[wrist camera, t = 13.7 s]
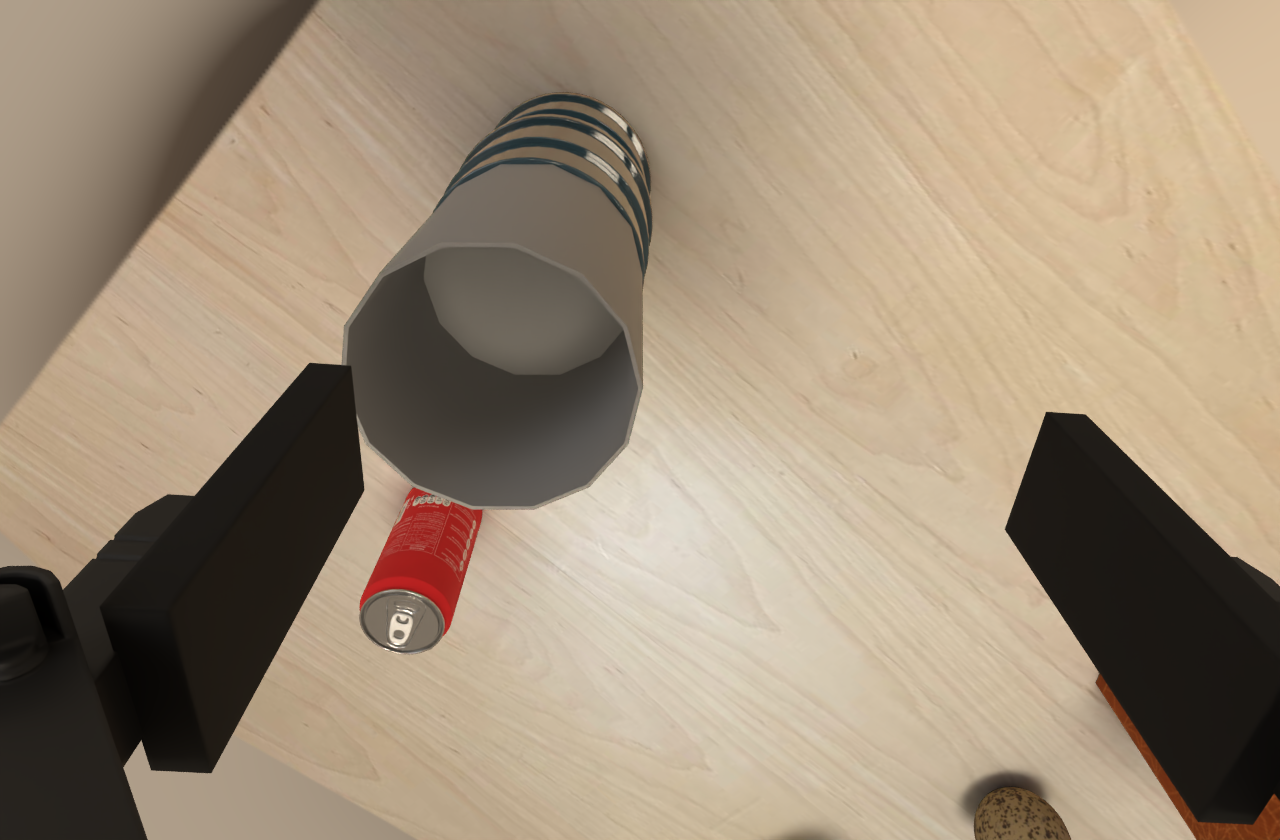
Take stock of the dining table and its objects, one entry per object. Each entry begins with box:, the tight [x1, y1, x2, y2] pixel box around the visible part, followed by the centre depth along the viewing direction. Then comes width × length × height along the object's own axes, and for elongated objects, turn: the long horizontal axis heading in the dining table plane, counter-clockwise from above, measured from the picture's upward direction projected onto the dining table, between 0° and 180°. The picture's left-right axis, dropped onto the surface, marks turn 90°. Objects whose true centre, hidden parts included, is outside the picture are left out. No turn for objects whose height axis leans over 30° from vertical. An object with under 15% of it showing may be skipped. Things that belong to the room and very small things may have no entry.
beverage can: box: [359, 487, 482, 654], centre depth 51 cm, size 5×5×12 cm
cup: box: [342, 164, 643, 510], centre depth 27 cm, size 8×8×10 cm
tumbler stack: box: [432, 92, 652, 291], centre depth 39 cm, size 9×9×16 cm
